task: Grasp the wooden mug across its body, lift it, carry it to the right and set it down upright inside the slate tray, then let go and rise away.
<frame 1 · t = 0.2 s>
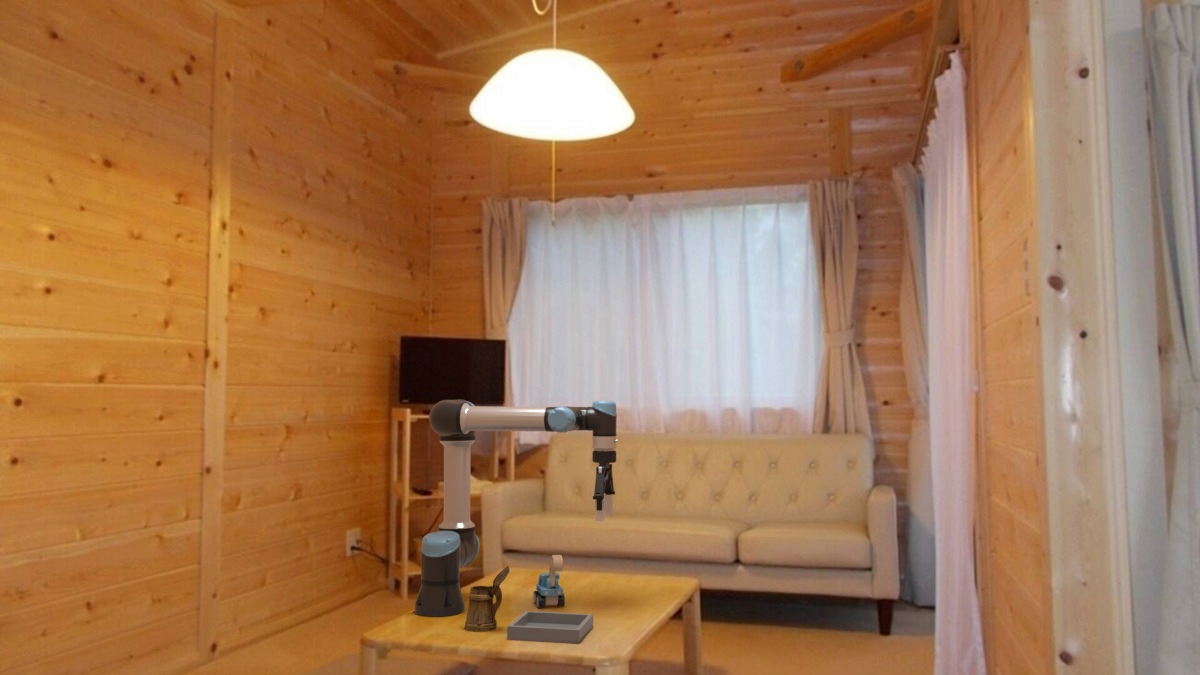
hand: (604, 518, 279), 28 cm above the table, fingers open, 13 cm apart
toy excavator: (550, 608, 279), on the table
slate tray: (551, 632, 248), on the table
wooden mug: (487, 629, 253), on the table
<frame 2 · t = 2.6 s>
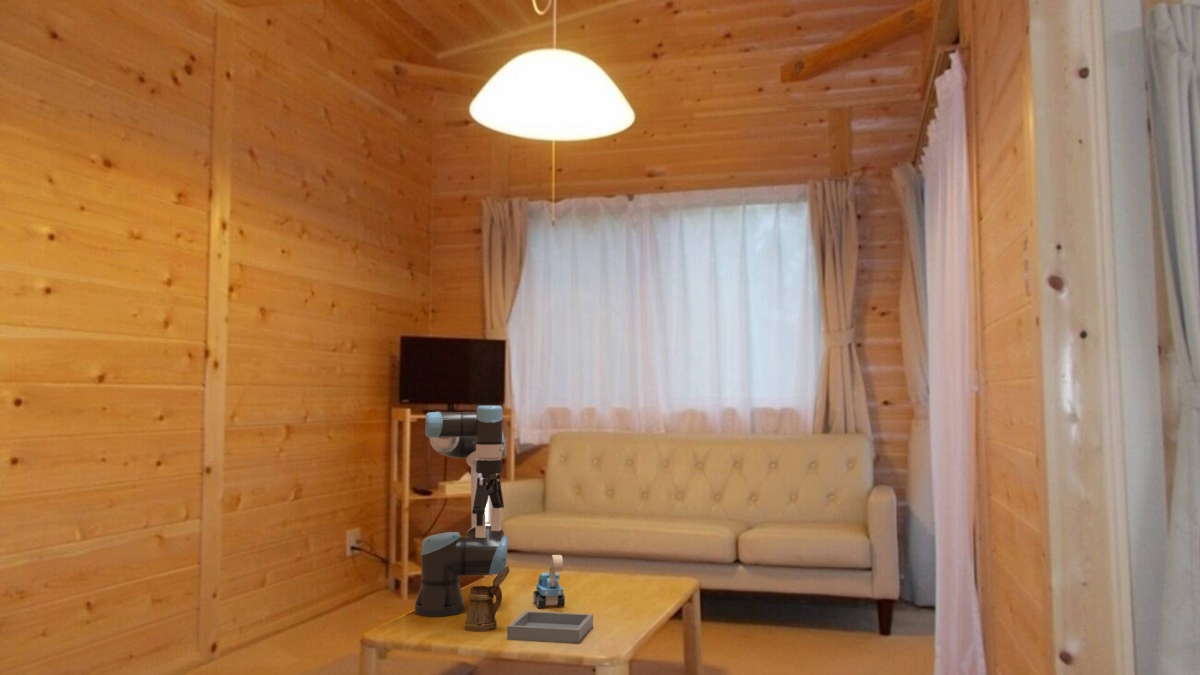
hand: (488, 534, 255), 26 cm above the table, fingers open, 13 cm apart
nothing on the table moved.
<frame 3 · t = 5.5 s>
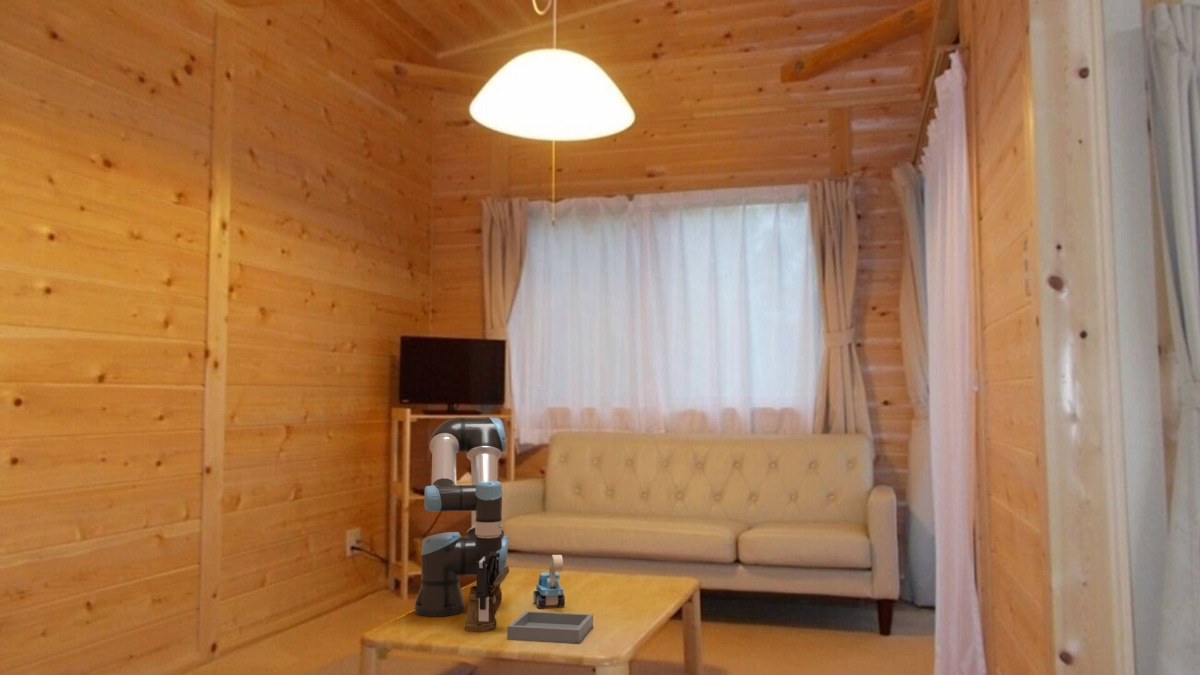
hand: (488, 617, 254), 3 cm above the table, fingers open, 7 cm apart
wooden mug: (487, 629, 253), on the table, touching gripper
everything else where it was.
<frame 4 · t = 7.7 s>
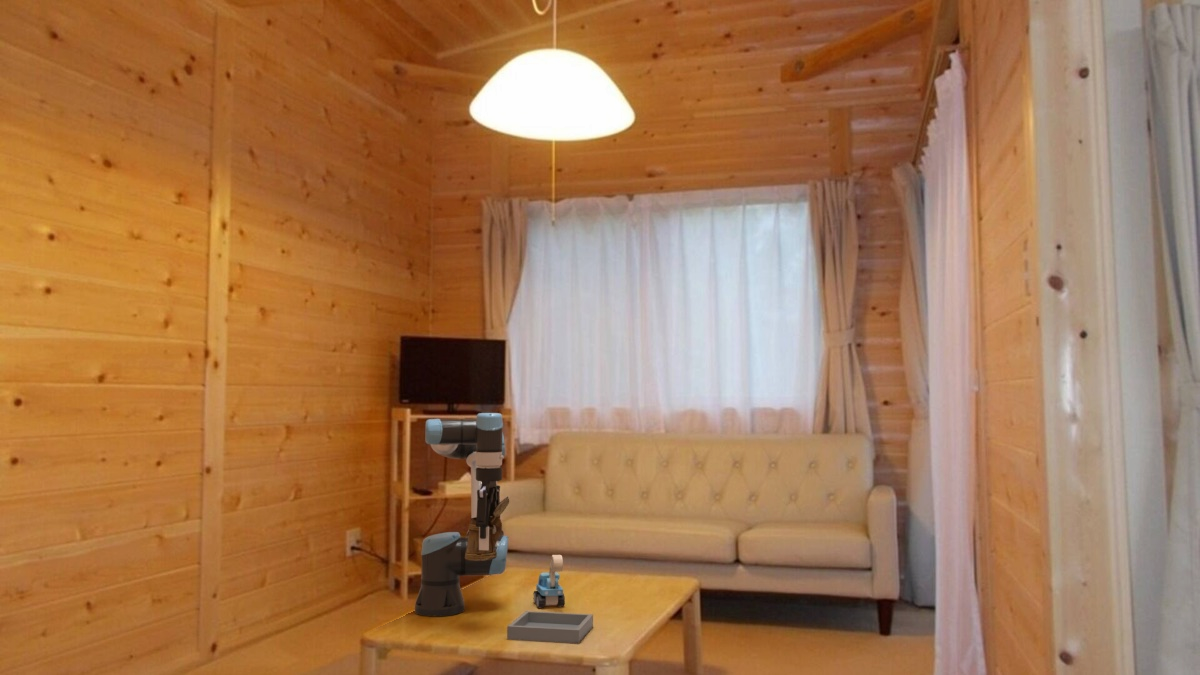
hand: (488, 547, 255), 23 cm above the table, fingers closed on wooden mug, 7 cm apart
wooden mug: (487, 559, 254), point 19 cm above the table, touching gripper
everything else where it was.
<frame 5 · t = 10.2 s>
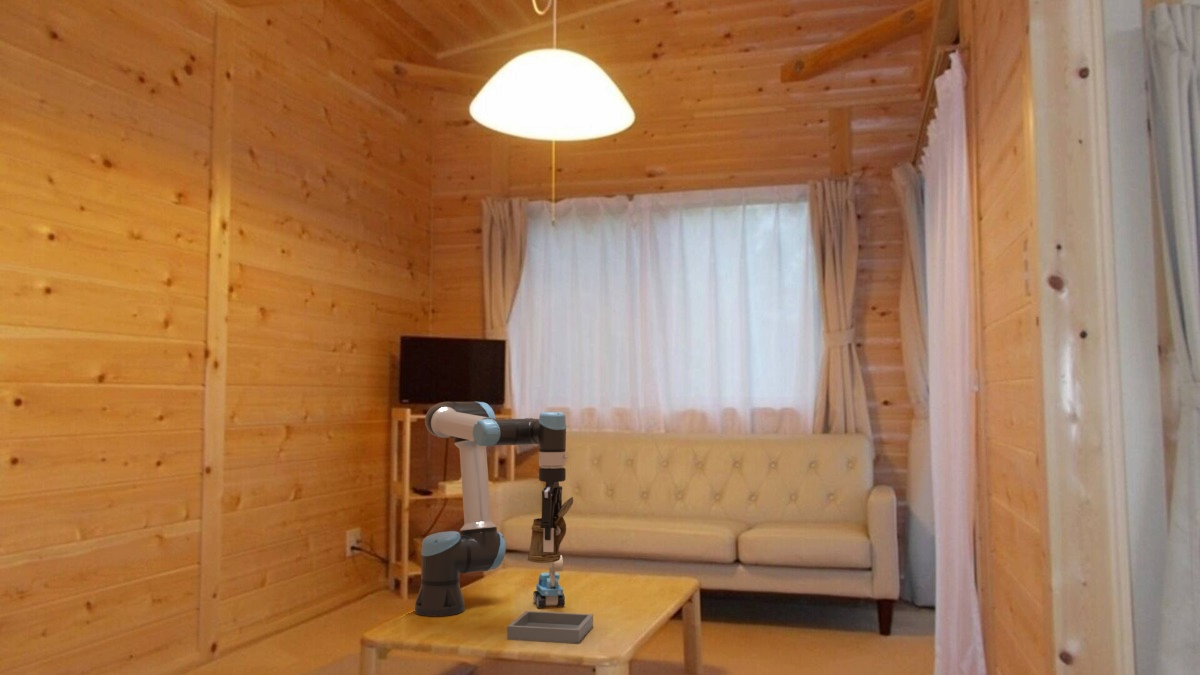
hand: (551, 549, 250), 23 cm above the table, fingers closed on wooden mug, 7 cm apart
wooden mug: (551, 561, 249), point 20 cm above the table, touching gripper
everything else where it was.
when the fingers open (5 cm above the table, at t = 14.0 s): wooden mug drops 1 cm, resting on slate tray.
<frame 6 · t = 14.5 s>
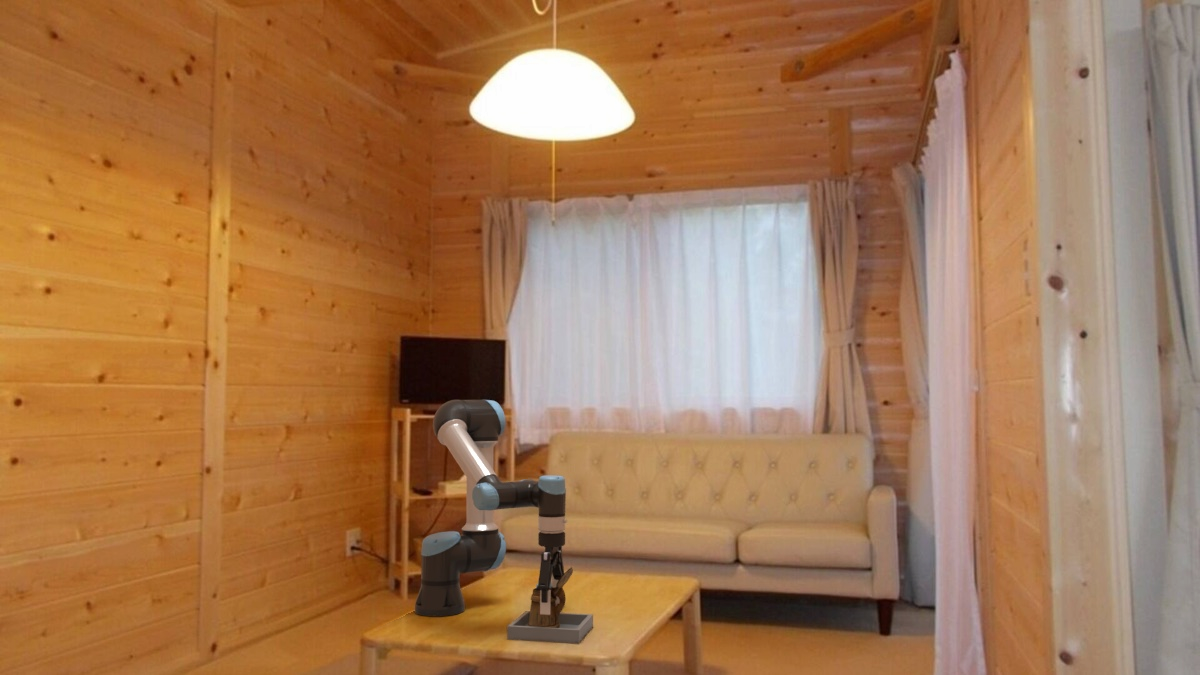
hand: (551, 608, 249), 7 cm above the table, fingers open, 13 cm apart
wooden mug: (550, 631, 248), resting on slate tray
everything else where it was.
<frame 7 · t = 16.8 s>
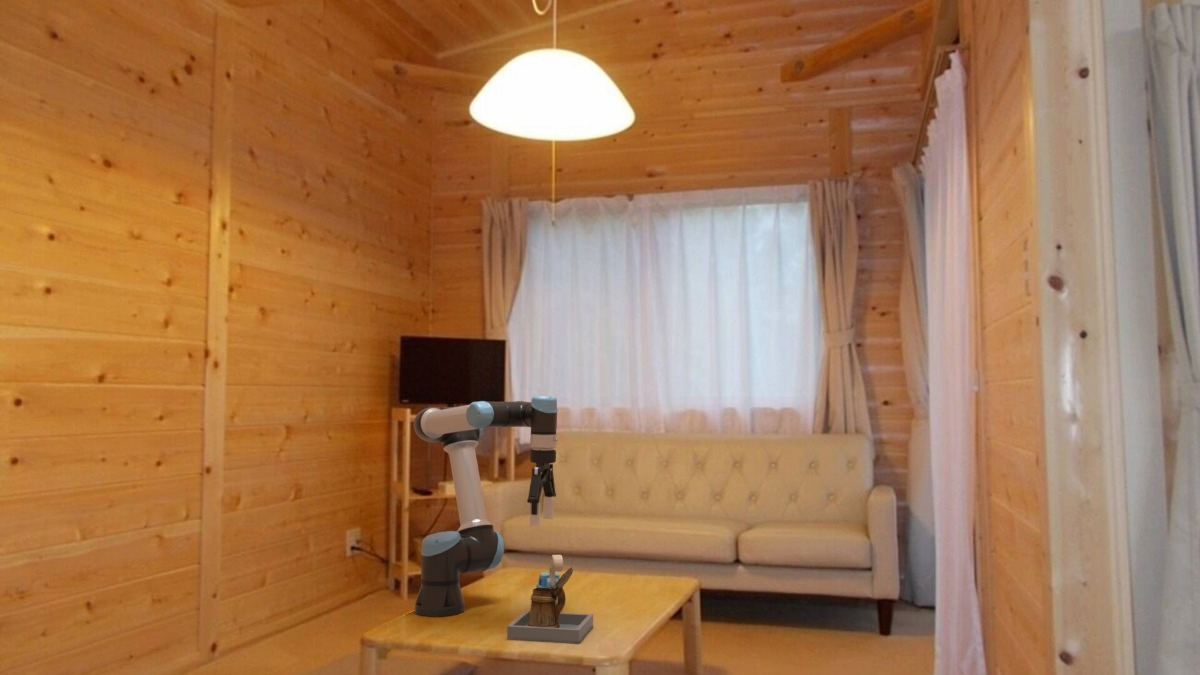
hand: (541, 522, 259), 29 cm above the table, fingers open, 13 cm apart
nothing on the table moved.
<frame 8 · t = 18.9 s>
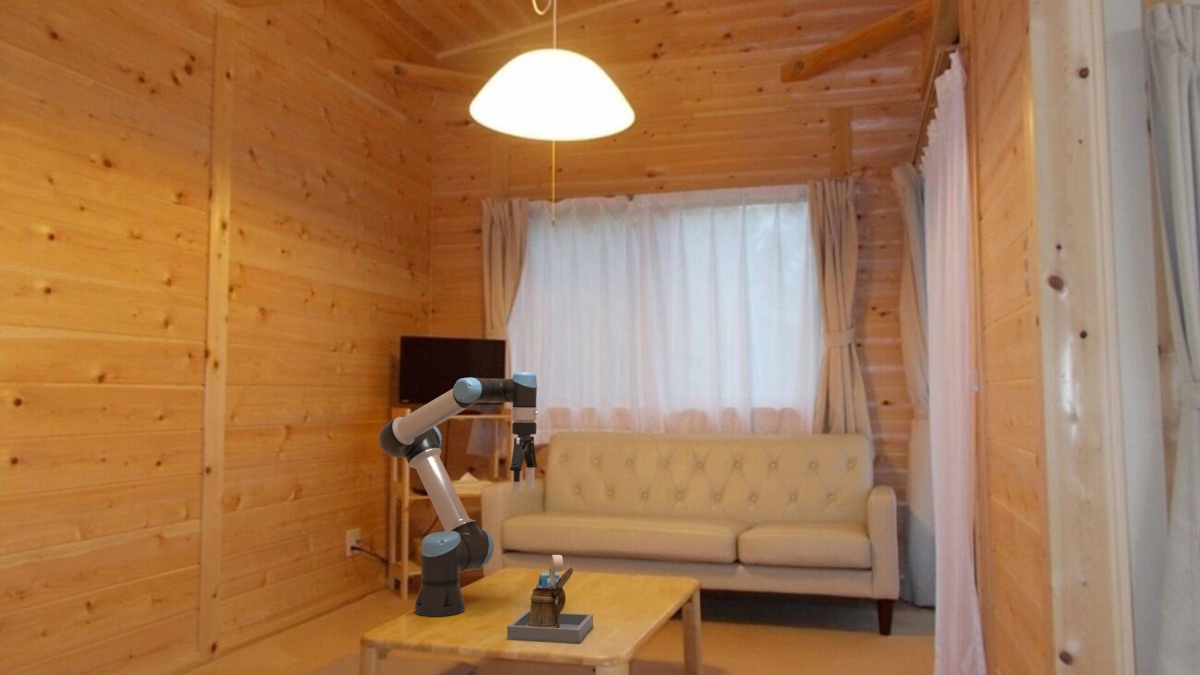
hand: (523, 490, 276), 37 cm above the table, fingers open, 13 cm apart
nothing on the table moved.
at the end: wooden mug inside the target area on the slate tray (0.4 cm from its centre), point 0.4 cm above the slate tray's base; wooden mug tilted 0°; the gripper is holding nothing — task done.
